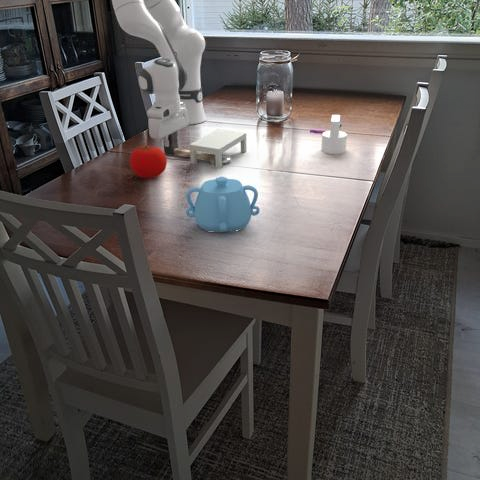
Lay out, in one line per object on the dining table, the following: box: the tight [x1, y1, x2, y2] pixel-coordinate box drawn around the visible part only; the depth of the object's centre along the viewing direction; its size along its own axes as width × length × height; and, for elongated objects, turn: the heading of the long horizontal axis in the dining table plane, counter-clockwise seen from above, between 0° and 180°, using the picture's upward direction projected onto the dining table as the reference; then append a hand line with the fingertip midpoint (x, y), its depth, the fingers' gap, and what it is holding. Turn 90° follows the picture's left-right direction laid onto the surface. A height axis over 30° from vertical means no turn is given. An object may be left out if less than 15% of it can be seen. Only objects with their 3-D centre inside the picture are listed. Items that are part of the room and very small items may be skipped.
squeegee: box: [309, 122, 342, 134], centre depth 210 cm, size 29×2×10 cm
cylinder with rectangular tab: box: [321, 114, 348, 155], centre depth 190 cm, size 9×9×12 cm
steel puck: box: [222, 155, 232, 166], centre depth 183 cm, size 5×5×2 cm
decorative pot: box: [185, 176, 261, 233], centre depth 138 cm, size 16×16×14 cm
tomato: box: [129, 144, 168, 179], centre depth 171 cm, size 11×12×10 cm
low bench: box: [189, 128, 247, 169], centre depth 187 cm, size 12×20×7 cm, turn 152°
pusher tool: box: [162, 131, 216, 165], centre depth 187 cm, size 22×6×9 cm, turn 62°
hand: (171, 144), depth 191 cm, fingers closed on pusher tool, 3 cm apart
